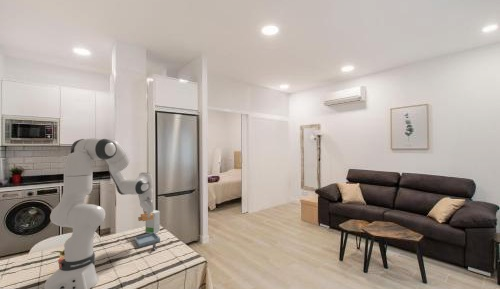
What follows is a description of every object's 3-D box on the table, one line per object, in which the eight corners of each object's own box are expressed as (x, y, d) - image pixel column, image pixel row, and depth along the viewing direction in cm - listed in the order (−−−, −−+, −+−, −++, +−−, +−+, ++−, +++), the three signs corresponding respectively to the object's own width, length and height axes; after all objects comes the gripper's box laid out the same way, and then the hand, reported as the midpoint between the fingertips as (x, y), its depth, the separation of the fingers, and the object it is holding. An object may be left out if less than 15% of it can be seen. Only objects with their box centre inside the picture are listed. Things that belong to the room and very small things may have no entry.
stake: (152, 251, 142) (152, 245, 142) (151, 249, 145) (150, 244, 145) (157, 249, 144) (157, 244, 144) (155, 248, 147) (155, 242, 147)
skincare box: (145, 232, 172) (144, 212, 172) (151, 229, 178) (150, 209, 178) (154, 234, 169) (154, 213, 169) (160, 230, 176) (160, 210, 175)
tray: (139, 247, 148) (139, 243, 148) (134, 240, 158) (134, 237, 158) (160, 241, 156) (160, 238, 156) (154, 235, 166) (154, 232, 166)
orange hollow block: (153, 219, 156) (153, 214, 156) (139, 222, 151) (139, 217, 151) (150, 216, 161) (150, 212, 161) (137, 219, 156) (137, 215, 156)
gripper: (155, 198, 150) (156, 219, 151) (147, 192, 166) (147, 211, 167) (145, 199, 146) (146, 221, 147) (137, 194, 162) (138, 213, 163)
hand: (146, 216), depth 157 cm, fingers closed on orange hollow block, 6 cm apart
